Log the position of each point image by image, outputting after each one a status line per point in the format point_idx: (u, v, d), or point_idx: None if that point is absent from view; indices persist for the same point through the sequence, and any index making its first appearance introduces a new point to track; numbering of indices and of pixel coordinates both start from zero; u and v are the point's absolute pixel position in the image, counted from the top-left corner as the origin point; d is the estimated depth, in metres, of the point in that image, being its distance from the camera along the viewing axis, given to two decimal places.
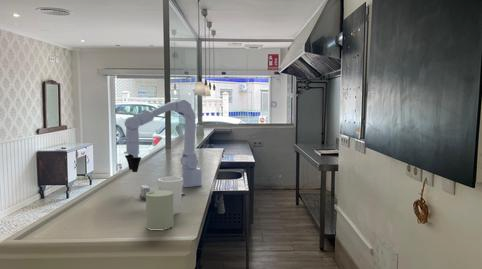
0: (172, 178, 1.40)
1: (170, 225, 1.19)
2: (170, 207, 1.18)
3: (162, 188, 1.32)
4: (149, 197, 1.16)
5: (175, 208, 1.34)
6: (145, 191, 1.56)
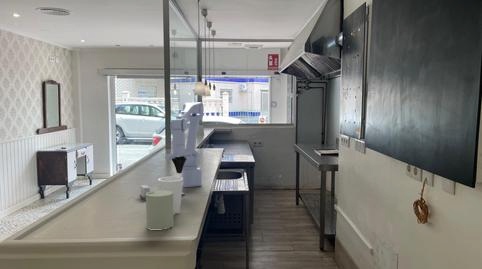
0: (172, 178, 1.40)
1: (170, 225, 1.19)
2: (170, 207, 1.18)
3: (162, 188, 1.32)
4: (149, 197, 1.16)
5: (175, 208, 1.34)
6: (145, 191, 1.56)
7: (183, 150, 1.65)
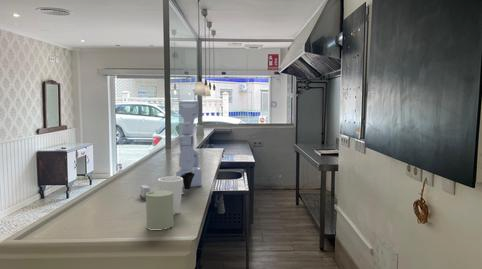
0: (172, 178, 1.40)
1: (170, 225, 1.19)
2: (170, 207, 1.18)
3: (162, 188, 1.32)
4: (149, 197, 1.16)
5: (175, 208, 1.34)
6: (145, 191, 1.56)
7: (192, 166, 1.66)
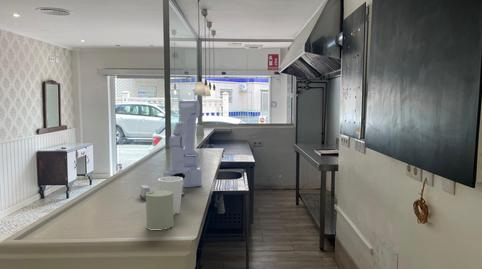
0: (172, 178, 1.40)
1: (170, 225, 1.19)
2: (170, 207, 1.18)
3: (162, 188, 1.32)
4: (149, 197, 1.16)
5: (175, 208, 1.34)
6: (145, 191, 1.56)
7: (182, 167, 1.64)
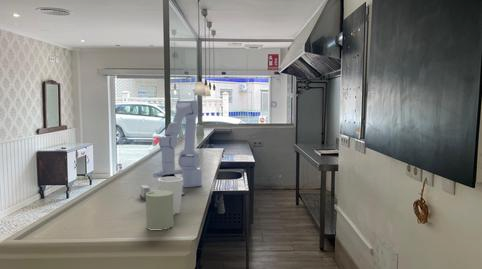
0: (172, 178, 1.40)
1: (170, 225, 1.19)
2: (170, 207, 1.18)
3: (162, 188, 1.32)
4: (149, 197, 1.16)
5: (175, 208, 1.34)
6: (145, 191, 1.56)
7: (172, 168, 1.61)
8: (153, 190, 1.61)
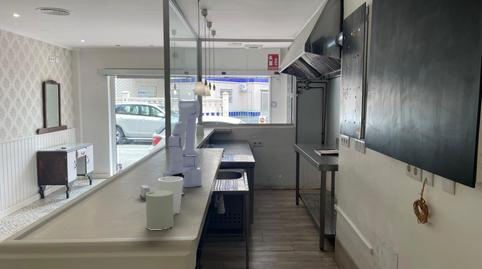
0: (172, 178, 1.40)
1: (170, 225, 1.19)
2: (170, 207, 1.18)
3: (162, 188, 1.32)
4: (149, 197, 1.16)
5: (175, 208, 1.34)
6: (145, 191, 1.56)
7: (181, 167, 1.63)
8: None
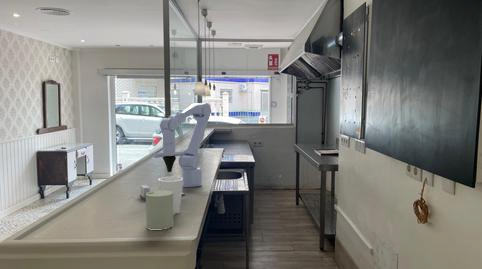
0: (172, 178, 1.40)
1: (170, 225, 1.19)
2: (170, 207, 1.18)
3: (162, 188, 1.32)
4: (149, 197, 1.16)
5: (175, 208, 1.34)
6: (145, 191, 1.56)
7: (171, 149, 1.67)
8: None
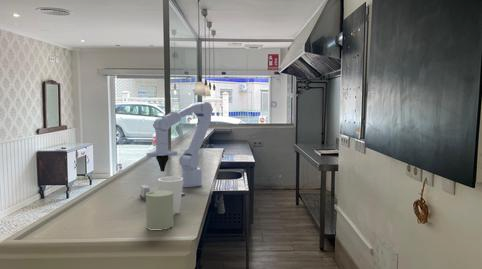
0: (172, 178, 1.40)
1: (170, 225, 1.19)
2: (170, 207, 1.18)
3: (162, 188, 1.32)
4: (149, 197, 1.16)
5: (175, 208, 1.34)
6: (145, 191, 1.56)
7: (164, 149, 1.69)
8: None
